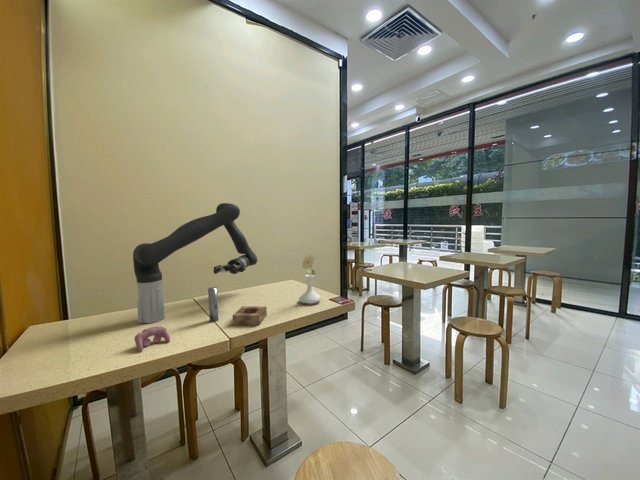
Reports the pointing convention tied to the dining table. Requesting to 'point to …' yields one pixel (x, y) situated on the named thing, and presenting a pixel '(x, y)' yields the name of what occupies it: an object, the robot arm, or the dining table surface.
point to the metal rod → (213, 304)
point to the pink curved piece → (157, 332)
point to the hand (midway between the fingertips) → (223, 271)
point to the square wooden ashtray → (249, 315)
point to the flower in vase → (309, 283)
